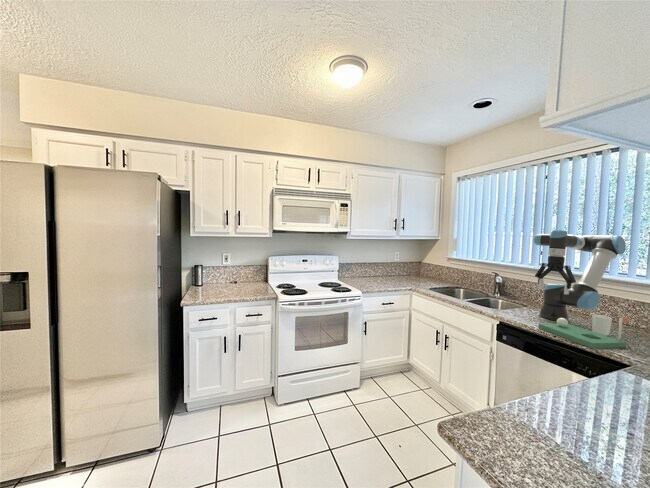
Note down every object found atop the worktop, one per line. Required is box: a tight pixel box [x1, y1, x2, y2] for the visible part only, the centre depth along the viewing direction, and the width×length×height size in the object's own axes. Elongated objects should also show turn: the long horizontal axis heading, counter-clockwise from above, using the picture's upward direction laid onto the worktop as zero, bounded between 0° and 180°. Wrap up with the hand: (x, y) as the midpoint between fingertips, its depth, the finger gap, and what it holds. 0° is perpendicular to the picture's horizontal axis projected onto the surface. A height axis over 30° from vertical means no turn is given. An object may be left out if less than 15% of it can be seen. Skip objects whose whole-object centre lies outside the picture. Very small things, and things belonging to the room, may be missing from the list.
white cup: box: [591, 313, 613, 337], centre depth 153 cm, size 8×8×10 cm
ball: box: [556, 318, 569, 327], centre depth 155 cm, size 5×5×5 cm
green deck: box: [538, 317, 629, 349], centre depth 146 cm, size 22×28×14 cm
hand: (553, 291), depth 160 cm, fingers open, 13 cm apart
